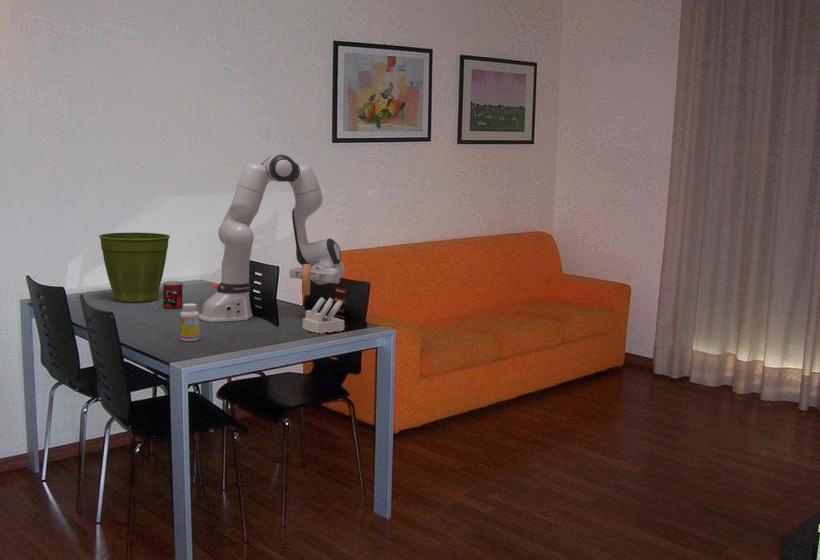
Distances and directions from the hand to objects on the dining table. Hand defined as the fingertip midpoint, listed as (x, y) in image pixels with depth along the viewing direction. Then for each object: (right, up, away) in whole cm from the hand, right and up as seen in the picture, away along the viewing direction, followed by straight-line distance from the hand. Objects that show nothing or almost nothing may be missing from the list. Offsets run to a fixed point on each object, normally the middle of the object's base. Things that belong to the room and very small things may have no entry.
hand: (305, 277), depth 338 cm
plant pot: (-81, -10, +41) cm, 91 cm away
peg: (0, -7, +2) cm, 7 cm away
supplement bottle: (-38, -23, -32) cm, 55 cm away
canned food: (-60, -13, +25) cm, 66 cm away
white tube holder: (+8, -20, -6) cm, 23 cm away
